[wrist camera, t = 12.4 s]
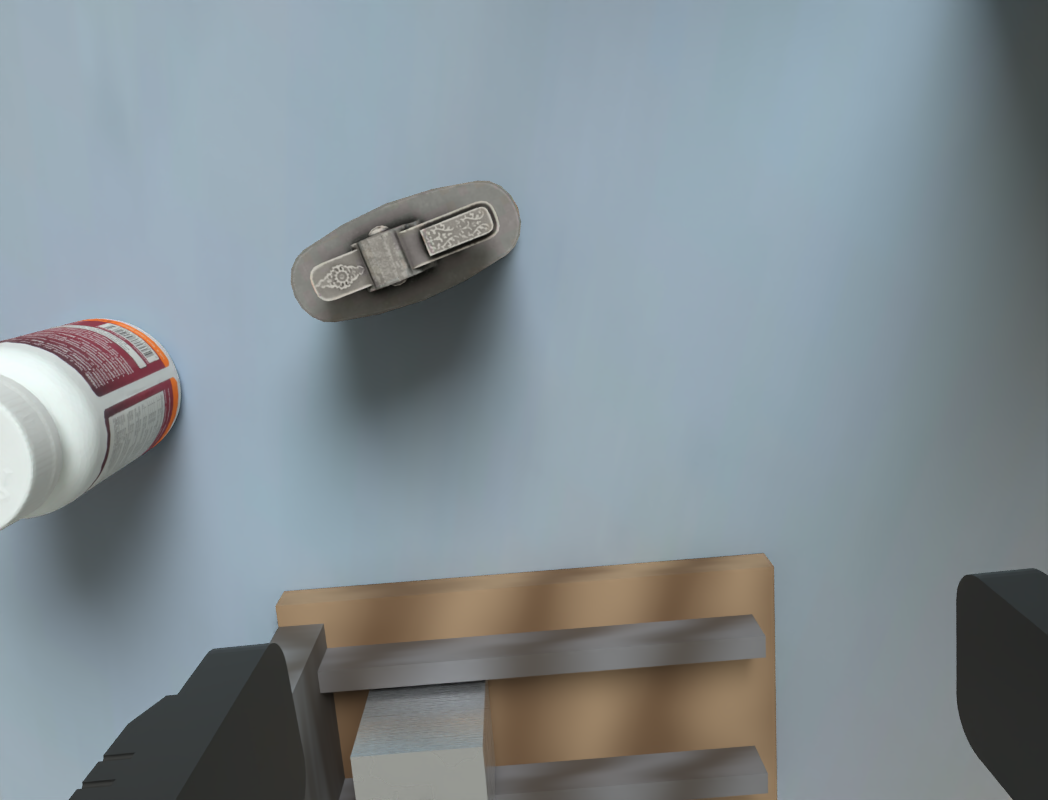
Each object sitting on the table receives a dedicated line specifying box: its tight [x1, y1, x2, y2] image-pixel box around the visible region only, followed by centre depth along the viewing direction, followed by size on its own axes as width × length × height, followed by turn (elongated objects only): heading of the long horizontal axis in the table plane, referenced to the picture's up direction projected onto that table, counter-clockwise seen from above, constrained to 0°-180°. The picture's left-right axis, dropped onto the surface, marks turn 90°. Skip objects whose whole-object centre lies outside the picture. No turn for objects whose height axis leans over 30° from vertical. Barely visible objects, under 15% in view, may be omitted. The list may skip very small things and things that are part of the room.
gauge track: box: [270, 553, 777, 800], centre depth 36 cm, size 22×12×8 cm, turn 94°
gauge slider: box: [350, 680, 495, 800], centre depth 35 cm, size 5×7×6 cm
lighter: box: [291, 181, 521, 322], centre depth 31 cm, size 8×3×10 cm, turn 111°
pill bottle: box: [0, 319, 181, 530], centre depth 31 cm, size 6×6×11 cm
